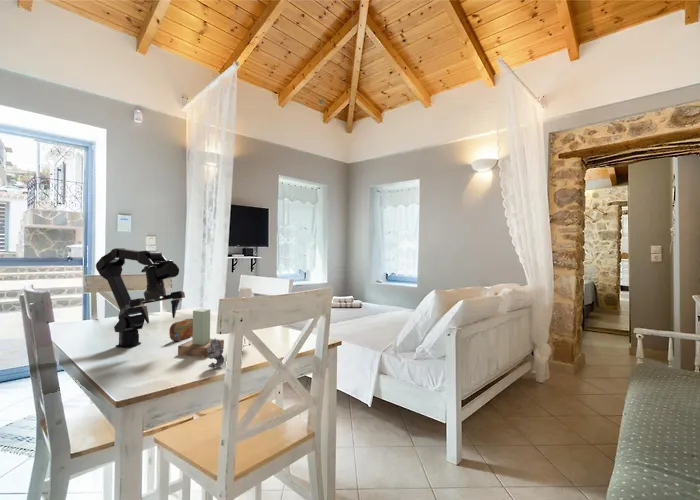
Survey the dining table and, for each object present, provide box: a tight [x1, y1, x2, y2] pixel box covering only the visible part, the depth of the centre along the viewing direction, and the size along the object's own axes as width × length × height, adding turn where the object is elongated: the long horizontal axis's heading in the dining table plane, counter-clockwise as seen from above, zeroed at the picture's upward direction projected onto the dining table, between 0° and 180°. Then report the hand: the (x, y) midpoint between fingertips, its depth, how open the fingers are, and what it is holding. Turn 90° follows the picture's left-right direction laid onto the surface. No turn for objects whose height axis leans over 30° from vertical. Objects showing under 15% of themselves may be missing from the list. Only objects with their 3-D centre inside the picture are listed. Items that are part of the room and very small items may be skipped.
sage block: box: [192, 308, 211, 345], centre depth 135 cm, size 4×4×13 cm
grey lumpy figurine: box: [207, 338, 225, 369], centre depth 118 cm, size 5×5×10 cm
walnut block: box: [177, 338, 225, 358], centre depth 136 cm, size 12×12×4 cm
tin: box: [168, 317, 193, 342], centre depth 154 cm, size 15×3×8 cm, turn 168°
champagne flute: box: [238, 287, 253, 344], centre depth 148 cm, size 7×7×24 cm
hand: (161, 320), depth 135 cm, fingers open, 9 cm apart
